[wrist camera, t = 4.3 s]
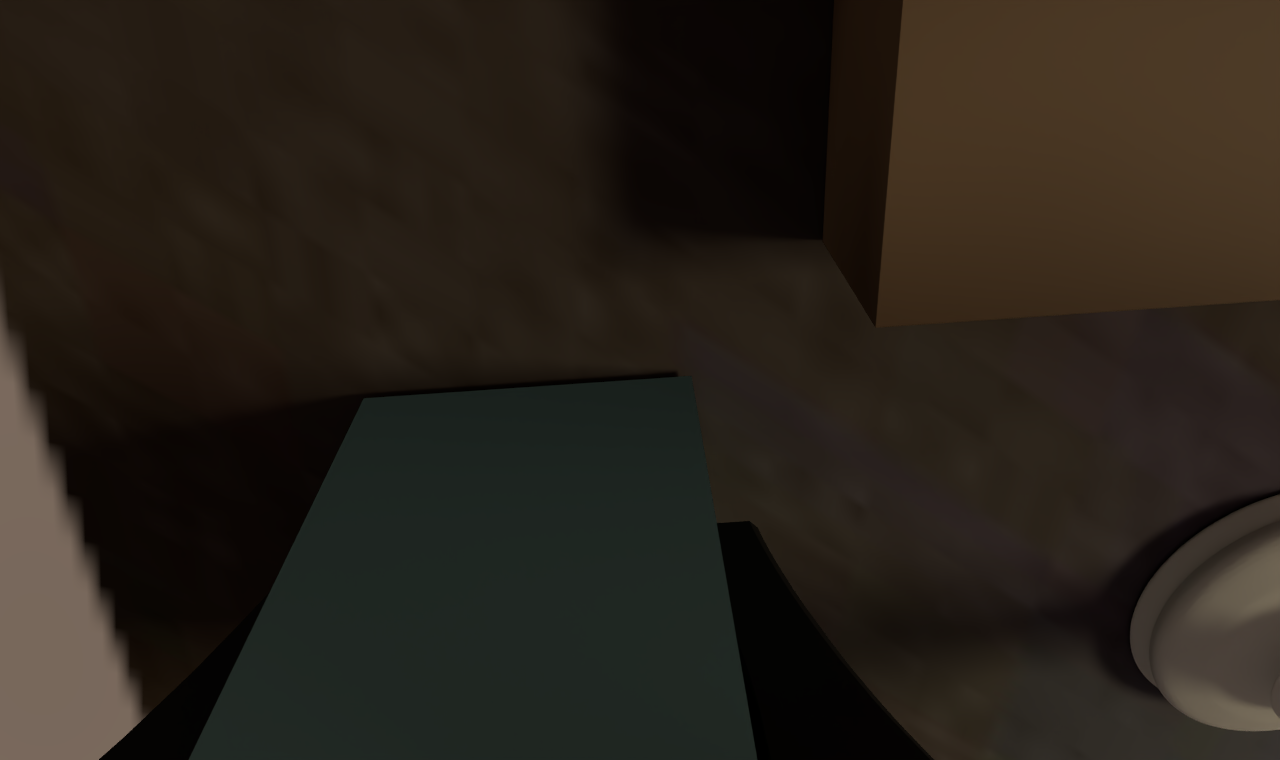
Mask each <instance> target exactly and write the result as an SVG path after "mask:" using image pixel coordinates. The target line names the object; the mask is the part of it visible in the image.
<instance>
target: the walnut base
mask: <svg viewBox="0 0 1280 760" xmlns="http://www.w3.org/2000/svg"><path fill="white" fill-rule="evenodd" d="M823 243H824V245H825V246H826V248H827V249H828V251H829V253H830V254H831V256H832V258H833V259H834V261H835V262H836V264H837V266H838V267H839V269H840V271H841V272H842V274H843V275H844V277H845V279H846V280H847V282H848V284H849V285H850V287H851V288H852V290H853V292H854V293H855V295H856V297H857V298H858V300H859V301H860V303H861V305H862V306H863V308H864V310H865V311H866V313H867V314H868V316H869V318H870V319H871V321H872V323H873V324H874V326H875V327H876V328H878V327H892V326H907V325H921V324H936V323H950V322H965V321H979V320H994V319H1008V318H1023V317H1038V316H1052V315H1067V314H1081V313H1096V312H1110V311H1125V310H1139V309H1154V308H1168V307H1183V306H1197V305H1212V304H1226V303H1241V302H1255V301H1270V300H1280V0H834V12H833V33H832V54H831V75H830V96H829V118H828V139H827V160H826V181H825V202H824V223H823Z"/></svg>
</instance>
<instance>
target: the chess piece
mask: <svg viewBox="0 0 1280 760" xmlns="http://www.w3.org/2000/svg"><path fill="white" fill-rule="evenodd" d="M1130 645H1131V651H1132V654H1133V658H1134V660H1135V662H1136V664H1137V666H1138V668H1139V670H1140V671H1141V672H1142V674H1143V675H1144V676H1145V677H1146V678H1147V679H1148V680H1149V681H1150V682H1151V683H1152V684H1153V685H1155V686H1156V687H1157V688H1158V689H1159V690H1160V692H1161V693H1162V695H1163V696H1164V697H1165V698H1166V700H1167V701H1168V702H1169V703H1170V704H1171V705H1172V706H1174V707H1175V708H1176V709H1177V710H1179V711H1180V712H1181V713H1183V714H1185V715H1186V716H1188V717H1190V718H1192V719H1194V720H1197V721H1199V722H1202V723H1204V724H1207V725H1211V726H1215V727H1219V728H1224V729H1230V730H1239V731H1270V730H1279V729H1280V494H1279V495H1275V496H1272V497H1269V498H1266V499H1263V500H1260V501H1258V502H1255V503H1252V504H1250V505H1248V506H1245V507H1243V508H1241V509H1239V510H1237V511H1235V512H1233V513H1231V514H1229V515H1227V516H1225V517H1223V518H1221V519H1219V520H1218V521H1216V522H1214V523H1213V524H1211V525H1209V526H1208V527H1206V528H1205V529H1203V530H1202V531H1200V532H1199V533H1198V534H1196V535H1195V536H1193V537H1192V538H1191V539H1190V540H1188V541H1187V542H1186V543H1185V544H1183V545H1182V546H1181V547H1180V548H1179V549H1178V550H1177V551H1175V552H1174V553H1173V554H1172V555H1171V556H1170V557H1169V558H1168V559H1167V560H1166V561H1165V562H1164V564H1163V565H1162V566H1161V567H1160V568H1159V569H1158V570H1157V572H1156V573H1155V574H1154V576H1153V577H1152V578H1151V579H1150V581H1149V583H1148V584H1147V586H1146V587H1145V589H1144V590H1143V592H1142V594H1141V596H1140V598H1139V600H1138V602H1137V605H1136V607H1135V610H1134V613H1133V617H1132V621H1131V627H1130Z"/></svg>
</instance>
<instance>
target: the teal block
mask: <svg viewBox="0 0 1280 760" xmlns="http://www.w3.org/2000/svg"><path fill="white" fill-rule="evenodd" d="M189 760H757V755H756V749H755V743H754V737H753V731H752V726H751V720H750V714H749V708H748V702H747V696H746V691H745V685H744V679H743V673H742V667H741V662H740V656H739V650H738V644H737V638H736V633H735V627H734V621H733V615H732V609H731V604H730V598H729V592H728V586H727V580H726V574H725V569H724V563H723V557H722V551H721V545H720V540H719V534H718V528H717V522H716V516H715V511H714V505H713V499H712V493H711V487H710V482H709V476H708V470H707V464H706V458H705V453H704V447H703V441H702V435H701V429H700V423H699V418H698V412H697V406H696V400H695V394H694V389H693V383H692V377H691V376H683V377H668V378H653V379H639V380H624V381H610V382H595V383H580V384H566V385H551V386H537V387H522V388H507V389H493V390H478V391H464V392H449V393H434V394H420V395H405V396H391V397H376V398H364V399H363V401H362V403H361V405H360V407H359V409H358V411H357V413H356V415H355V417H354V419H353V422H352V424H351V426H350V428H349V430H348V432H347V434H346V436H345V438H344V440H343V442H342V444H341V446H340V448H339V450H338V452H337V455H336V457H335V459H334V461H333V463H332V465H331V467H330V469H329V471H328V473H327V475H326V477H325V479H324V481H323V483H322V485H321V488H320V490H319V492H318V494H317V496H316V498H315V500H314V502H313V504H312V506H311V508H310V510H309V512H308V514H307V516H306V519H305V521H304V523H303V525H302V527H301V529H300V531H299V533H298V535H297V537H296V539H295V541H294V543H293V545H292V547H291V549H290V552H289V554H288V556H287V558H286V560H285V562H284V564H283V566H282V568H281V570H280V572H279V574H278V576H277V578H276V580H275V583H274V585H273V587H272V589H271V591H270V593H269V595H268V597H267V599H266V601H265V603H264V605H263V607H262V609H261V611H260V613H259V616H258V618H257V620H256V622H255V624H254V626H253V628H252V630H251V632H250V634H249V636H248V638H247V640H246V642H245V644H244V647H243V649H242V651H241V653H240V655H239V657H238V659H237V661H236V663H235V665H234V667H233V669H232V671H231V673H230V675H229V677H228V680H227V682H226V684H225V686H224V688H223V690H222V692H221V694H220V696H219V698H218V700H217V702H216V704H215V706H214V708H213V710H212V713H211V715H210V717H209V719H208V721H207V723H206V725H205V727H204V729H203V731H202V733H201V735H200V737H199V739H198V741H197V744H196V746H195V748H194V750H193V752H192V754H191V756H190V758H189Z"/></svg>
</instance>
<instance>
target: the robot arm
mask: <svg viewBox="0 0 1280 760" xmlns="http://www.w3.org/2000/svg"><path fill="white" fill-rule="evenodd" d="M717 528H718V534H719V540H720V545H721V551H722V557H723V563H724V569H725V574H726V580H727V586H728V592H729V598H730V604H731V609H732V615H733V621H734V627H735V633H736V638H737V644H738V650H739V656H740V662H741V667H742V673H743V679H744V685H745V691H746V696H747V702H748V708H749V714H750V720H751V726H752V731H753V737H754V743H755V749H756V755H757V760H934V759H933V758H932V757H931V756H930V755H929V754H928V753H927V752H926V751H925V750H924V749H923V748H922V747H921V746H920V745H919V744H918V743H917V742H916V741H915V740H914V739H913V737H912V736H911V735H910V734H909V733H908V732H907V731H906V730H905V729H904V728H903V727H902V726H901V725H900V724H899V723H898V722H897V720H896V719H895V718H894V717H893V716H892V715H891V714H890V713H889V712H888V711H887V709H886V708H885V707H884V706H883V705H882V704H881V703H880V701H879V700H878V699H877V698H876V697H875V696H874V695H873V693H872V692H871V691H870V690H869V689H868V687H867V686H866V685H865V684H864V683H863V681H862V680H861V679H860V678H859V677H858V675H857V674H856V673H855V672H854V671H853V669H852V668H851V667H850V666H849V665H848V663H847V662H846V661H845V659H844V658H843V657H842V656H841V654H840V653H839V652H838V651H837V649H836V648H835V647H834V645H833V644H832V643H831V641H830V640H829V639H828V637H827V636H826V635H825V633H824V632H823V631H822V629H821V628H820V626H819V625H818V624H817V622H816V621H815V620H814V618H813V617H812V616H811V614H810V613H809V611H808V610H807V609H806V607H805V606H804V604H803V603H802V601H801V600H800V599H799V597H798V596H797V594H796V593H795V591H794V590H793V588H792V586H791V585H790V583H789V582H788V580H787V579H786V577H785V576H784V574H783V573H782V571H781V569H780V568H779V566H778V564H777V563H776V561H775V559H774V558H773V556H772V554H771V552H770V551H769V549H768V547H767V545H766V543H765V542H764V540H763V538H762V536H761V534H760V532H759V530H758V528H757V527H756V526H755V525H754V524H752V523H751V522H750V521H744V522H729V523H717ZM268 595H269V594H268ZM268 595H267V596H266V597H265V598H264V599H263V600H262V601H261V602H260V603H259V604H258V605H257V606H256V607H255V609H254V610H253V611H252V612H251V613H250V614H249V615H248V616H247V617H246V618H245V619H244V620H243V621H242V622H241V623H240V624H239V625H238V626H237V627H236V628H235V629H234V631H233V632H232V633H231V634H230V635H229V636H228V637H227V638H226V639H225V640H224V641H223V642H222V643H221V644H220V645H219V646H218V647H217V648H216V649H215V650H214V651H213V652H212V653H211V654H210V655H209V656H208V657H207V658H206V659H205V660H204V661H203V662H202V663H201V664H200V665H199V666H198V667H197V668H196V669H195V670H194V671H193V672H192V673H191V674H190V675H189V676H188V677H187V678H186V679H185V680H184V681H183V682H182V683H181V684H180V685H179V686H178V687H177V688H176V689H175V690H174V691H172V692H171V693H170V694H169V695H168V696H167V697H166V698H165V699H164V700H163V701H162V702H161V703H160V704H159V705H158V706H157V707H156V708H154V709H153V710H152V711H151V712H150V713H149V714H148V715H147V716H146V717H145V718H144V719H143V720H142V721H141V722H140V723H139V724H138V725H137V726H135V727H134V728H133V729H132V730H131V731H130V732H129V733H128V734H127V735H126V736H125V737H124V738H123V739H122V740H121V741H119V742H118V743H117V744H116V745H115V746H114V747H113V748H111V749H110V750H109V751H108V752H107V753H106V754H105V755H103V756H102V757H101V758H100V759H99V760H189V758H190V756H191V754H192V752H193V750H194V748H195V746H196V744H197V741H198V739H199V737H200V735H201V733H202V731H203V729H204V727H205V725H206V723H207V721H208V719H209V717H210V715H211V713H212V710H213V708H214V706H215V704H216V702H217V700H218V698H219V696H220V694H221V692H222V690H223V688H224V686H225V684H226V682H227V680H228V677H229V675H230V673H231V671H232V669H233V667H234V665H235V663H236V661H237V659H238V657H239V655H240V653H241V651H242V649H243V647H244V644H245V642H246V640H247V638H248V636H249V634H250V632H251V630H252V628H253V626H254V624H255V622H256V620H257V618H258V616H259V613H260V611H261V609H262V607H263V605H264V603H265V601H266V599H267V597H268Z"/></svg>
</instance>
